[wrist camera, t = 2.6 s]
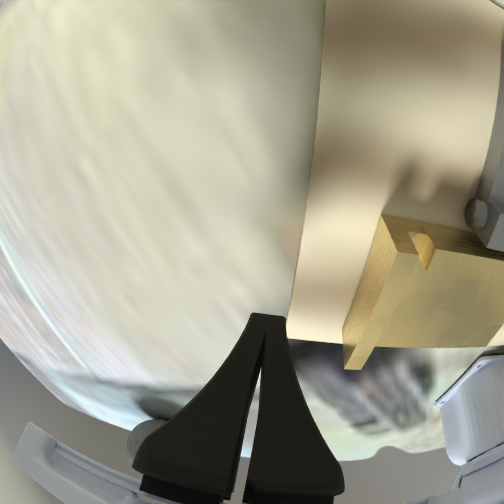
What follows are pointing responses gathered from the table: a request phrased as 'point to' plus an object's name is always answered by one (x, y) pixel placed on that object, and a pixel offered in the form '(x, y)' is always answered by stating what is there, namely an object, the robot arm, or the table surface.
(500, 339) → the board
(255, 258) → the table surface
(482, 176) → the fixed leaf
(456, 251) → the loose leaf
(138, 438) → the decorative ball
